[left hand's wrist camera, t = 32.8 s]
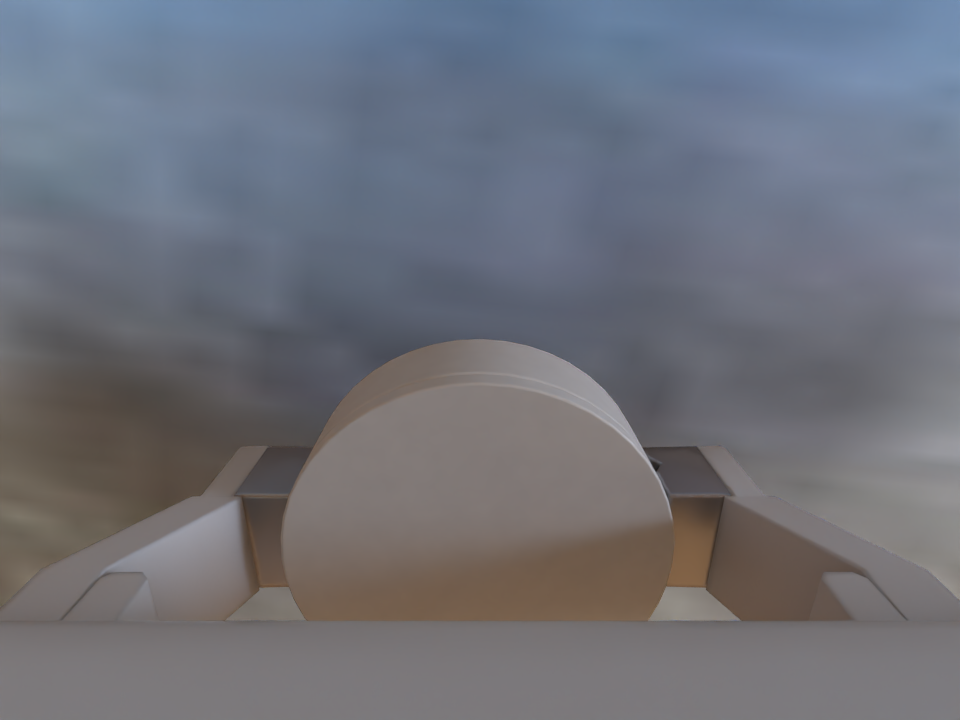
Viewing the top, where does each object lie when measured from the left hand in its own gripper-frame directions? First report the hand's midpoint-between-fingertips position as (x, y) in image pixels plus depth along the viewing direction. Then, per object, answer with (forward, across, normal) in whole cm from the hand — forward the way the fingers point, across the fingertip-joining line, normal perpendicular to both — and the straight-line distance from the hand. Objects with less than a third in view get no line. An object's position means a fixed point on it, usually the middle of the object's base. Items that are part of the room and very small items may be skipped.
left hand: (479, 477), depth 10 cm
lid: (-2, 0, 0) cm, 2 cm away
